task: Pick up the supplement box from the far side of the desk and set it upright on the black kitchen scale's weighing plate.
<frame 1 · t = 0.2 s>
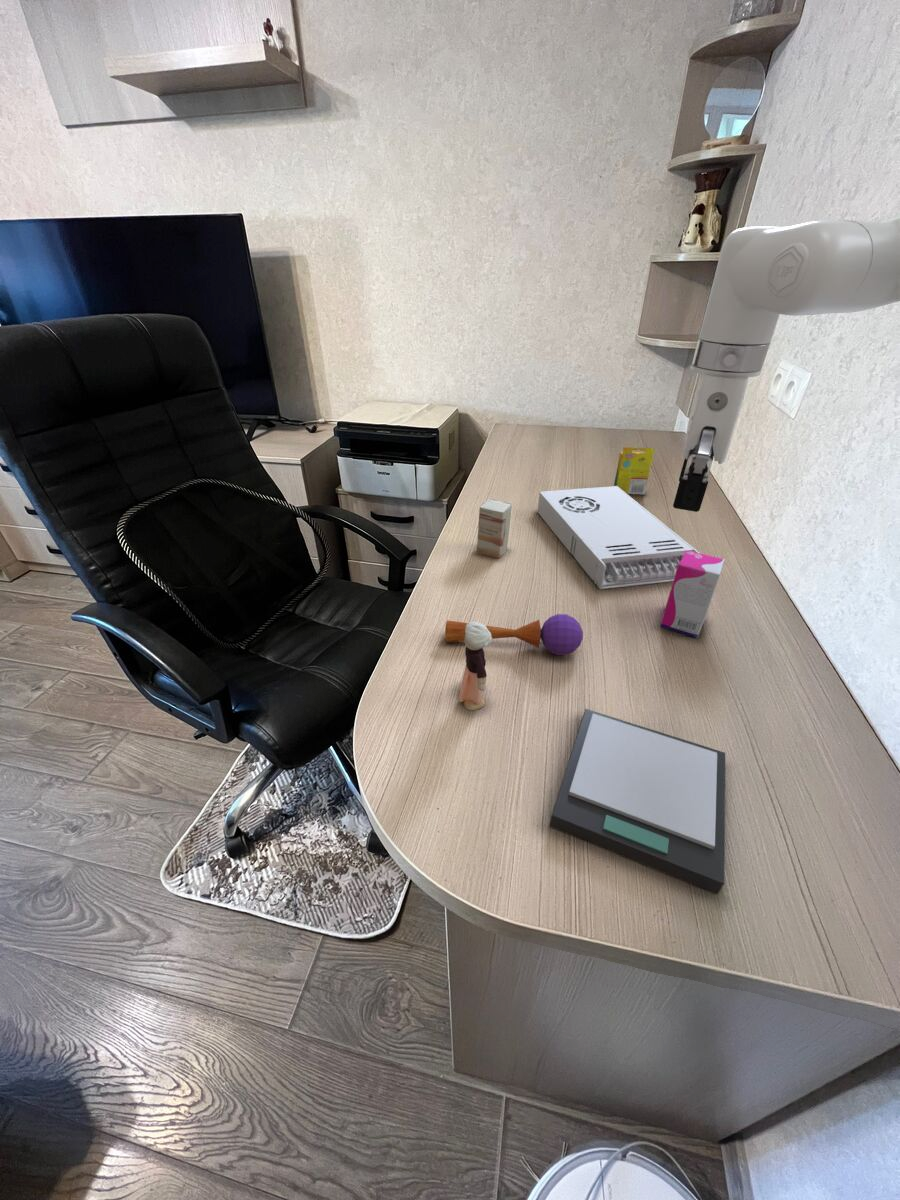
hand: (688, 495, 68), 22 cm above the table, tool pointing down, fingers open, 9 cm apart
crayon box: (628, 493, 125), on the table
grandmother figurine: (472, 701, 66), on the table
scale: (639, 793, 55), on the table
medicine carton: (492, 552, 100), on the table
supplement box: (681, 624, 81), on the table
power supply unit: (607, 542, 103), on the table
kendama: (511, 646, 76), on the table
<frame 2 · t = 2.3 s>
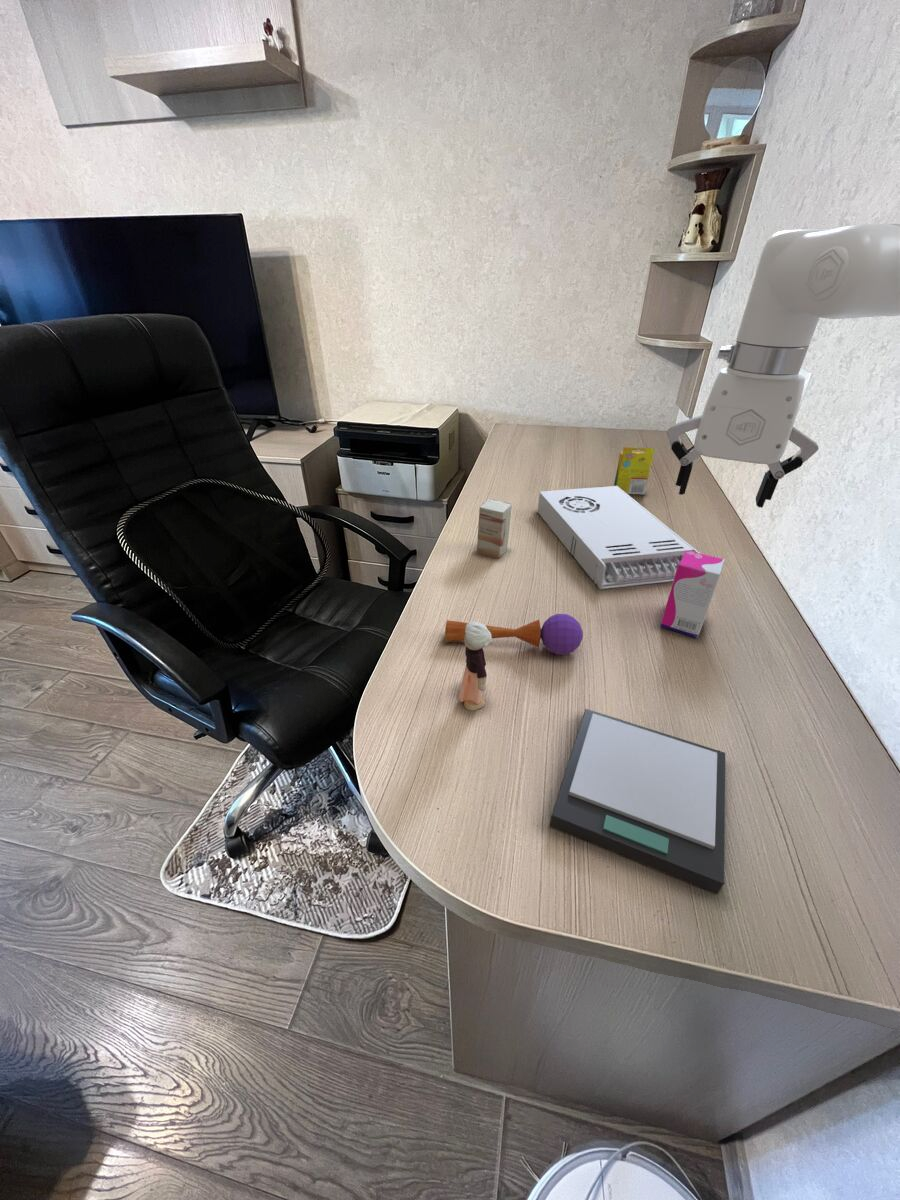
hand: (719, 497, 68), 22 cm above the table, tool pointing down, fingers open, 9 cm apart
nothing on the table moved.
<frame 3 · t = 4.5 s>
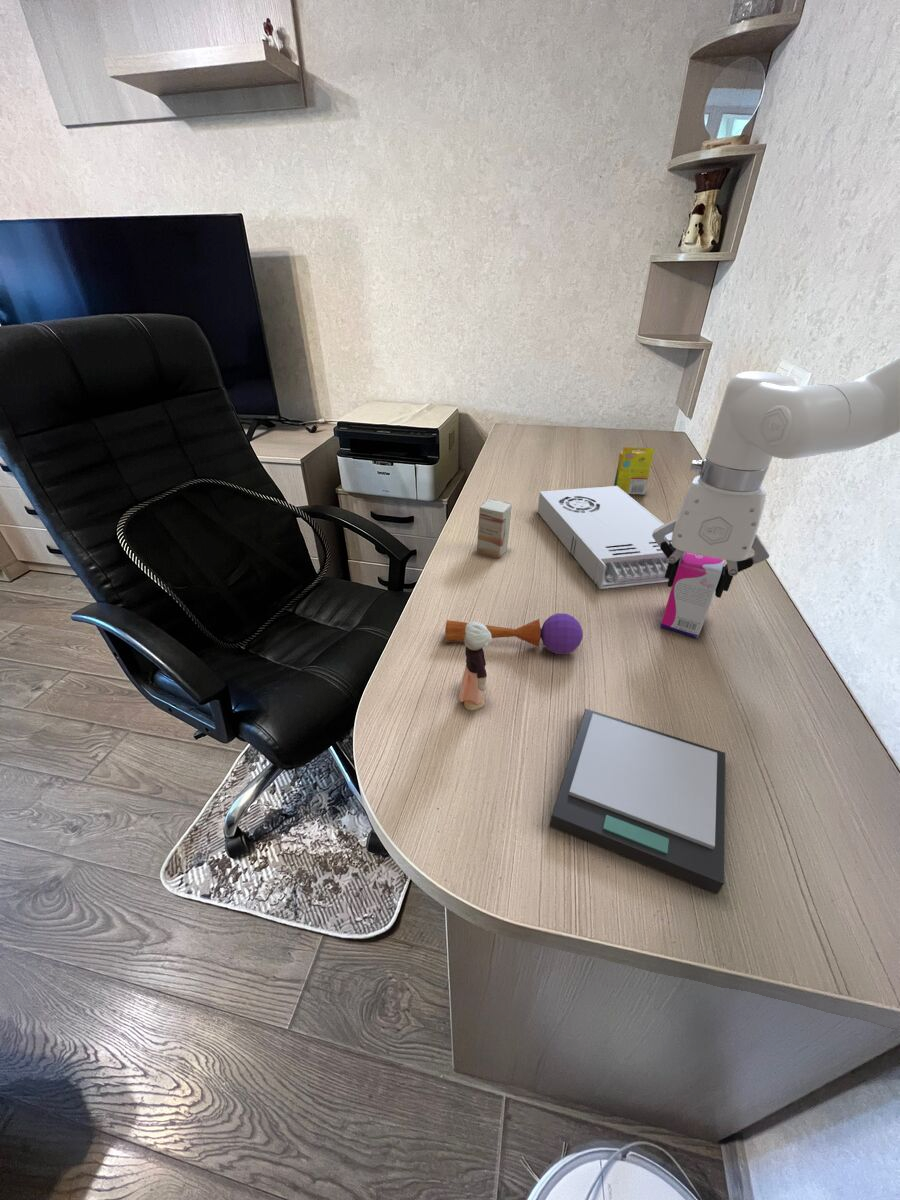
hand: (694, 586, 77), 7 cm above the table, tool pointing down, fingers closed on supplement box, 6 cm apart
supplement box: (681, 624, 81), on the table, touching gripper
everything else where it was.
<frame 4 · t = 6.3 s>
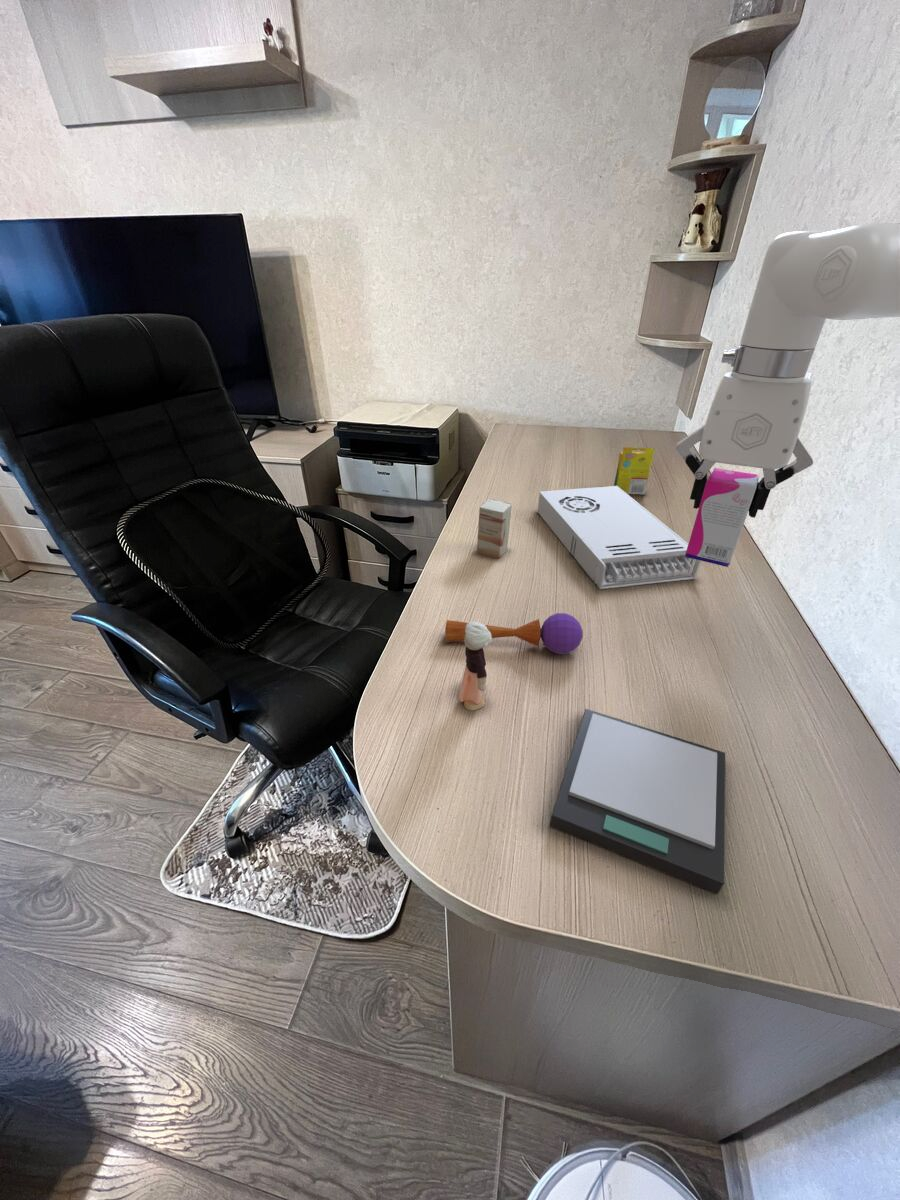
hand: (723, 508, 68), 21 cm above the table, tool pointing down, fingers closed on supplement box, 6 cm apart
supplement box: (708, 555, 72), point 13 cm above the table, touching gripper
everything else where it was.
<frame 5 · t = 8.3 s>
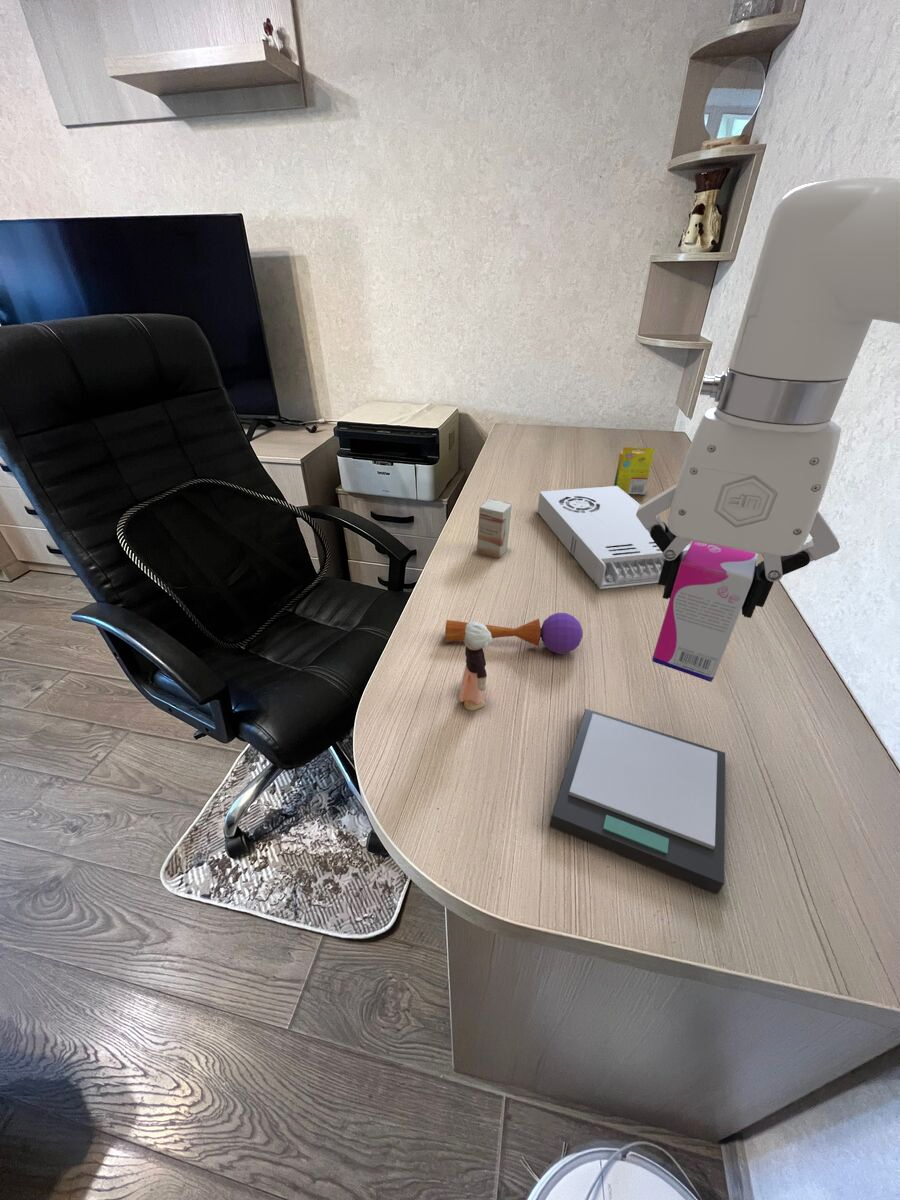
hand: (706, 598, 47), 22 cm above the table, tool pointing down, fingers closed on supplement box, 6 cm apart
supplement box: (685, 657, 51), point 15 cm above the table, touching gripper
everything else where it was.
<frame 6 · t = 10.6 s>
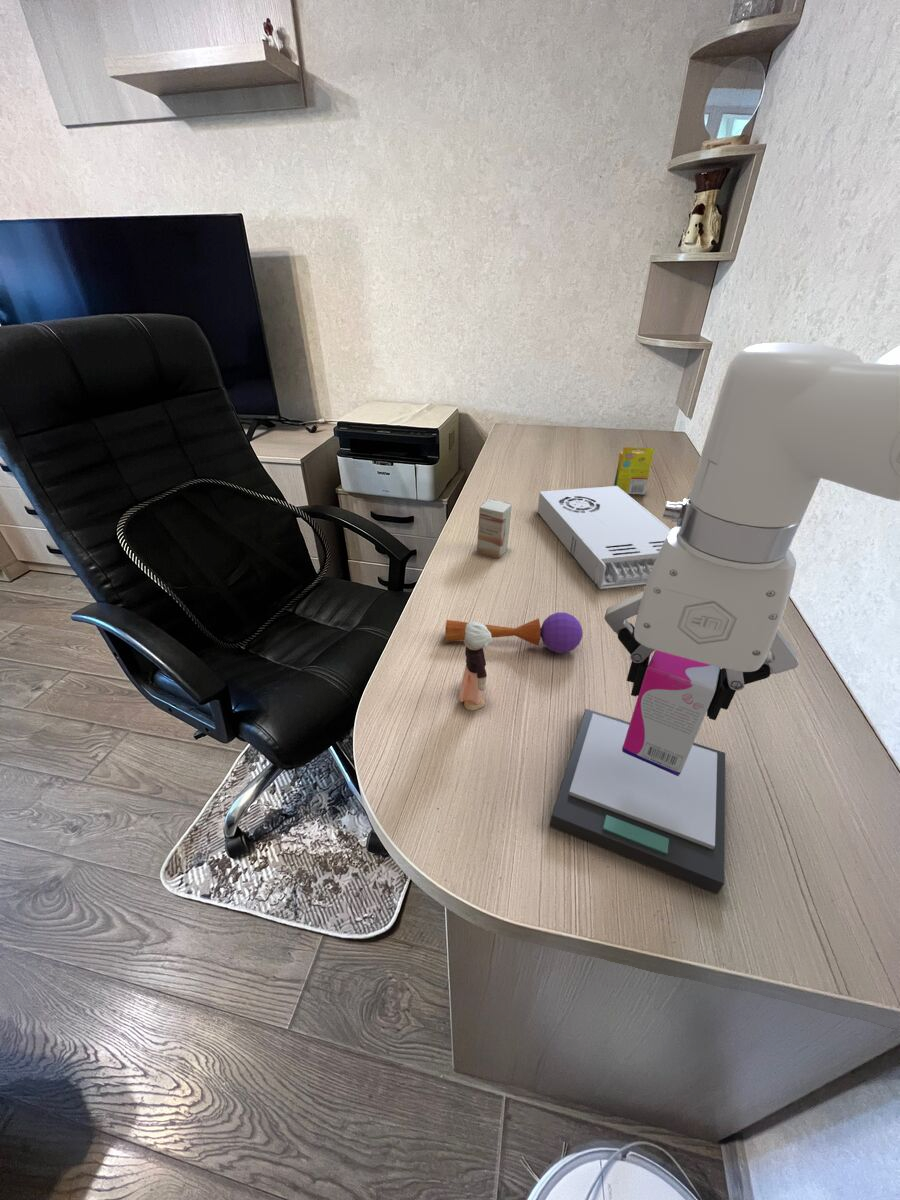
hand: (673, 696, 48), 14 cm above the table, tool pointing down, fingers closed on supplement box, 6 cm apart
supplement box: (655, 745, 52), point 7 cm above the table, touching gripper
everything else where it was.
when the fingers open (10 cm above the table, at t = 12.2 s): supplement box stays where it is, resting on scale.
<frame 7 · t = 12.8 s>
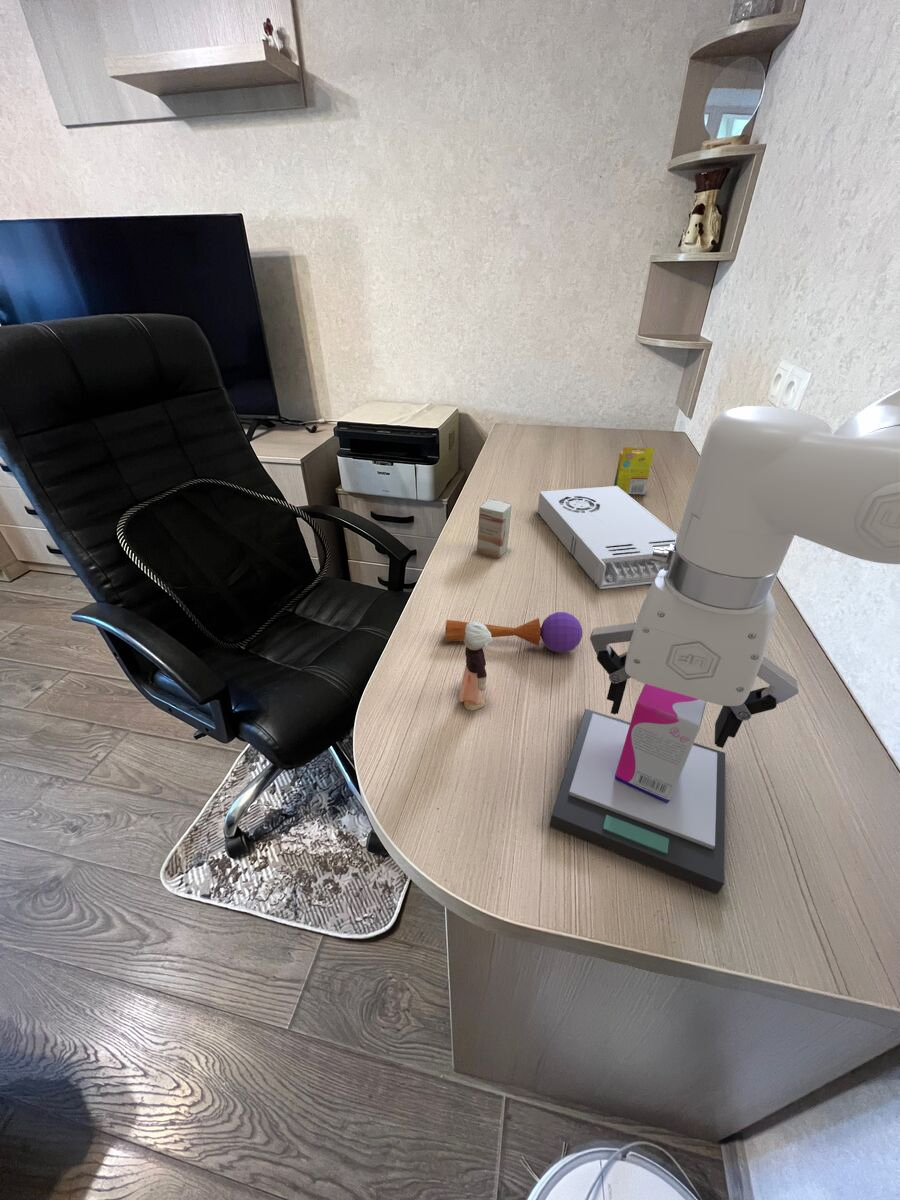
hand: (665, 720, 50), 11 cm above the table, tool pointing down, fingers open, 9 cm apart
supplement box: (646, 772, 54), point 2 cm above the table, touching scale
everything else where it was.
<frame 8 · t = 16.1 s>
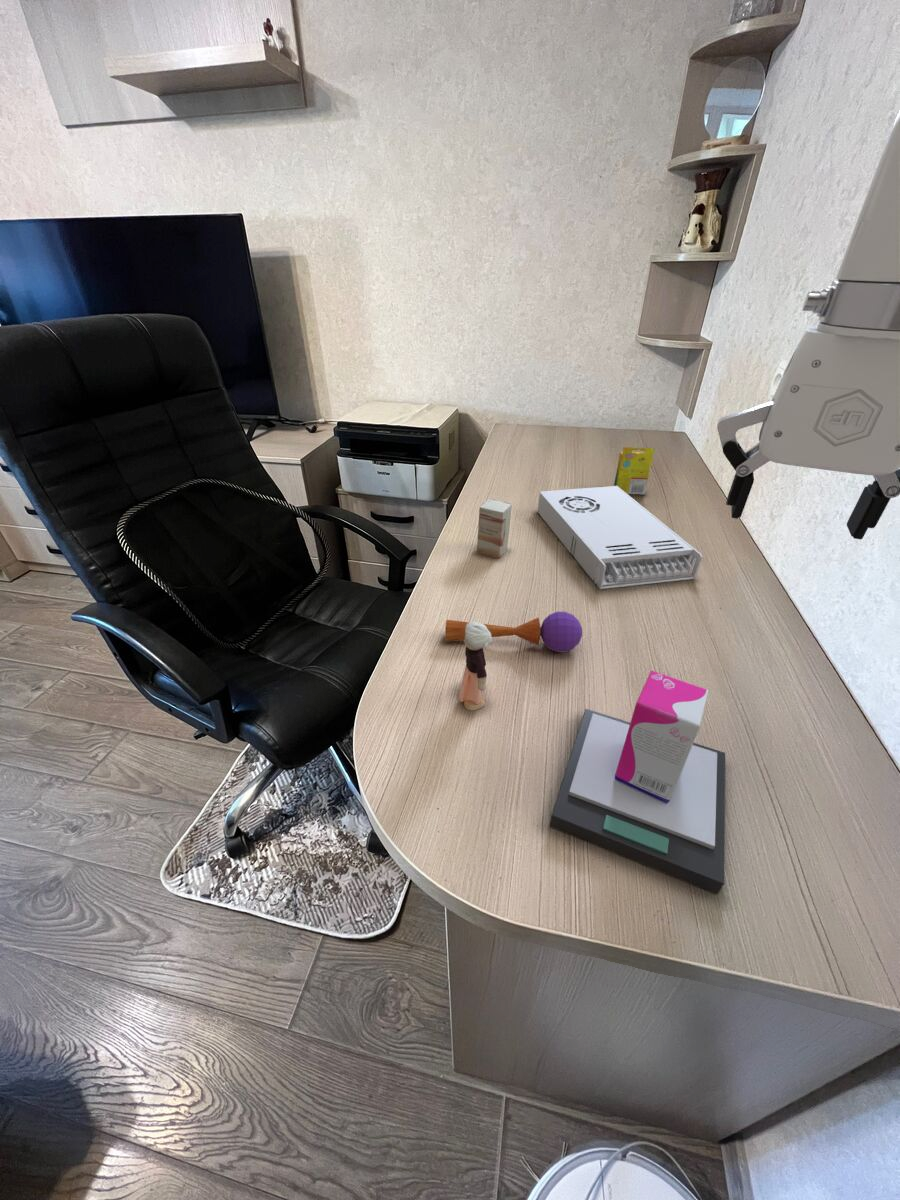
hand: (792, 522, 47), 28 cm above the table, tool pointing down, fingers open, 9 cm apart
nothing on the table moved.
at the end: supplement box inside the target area on the scale (0.1 cm from its centre), point 2.4 cm above the scale's base; supplement box tilted 0°; the gripper is holding nothing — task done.
